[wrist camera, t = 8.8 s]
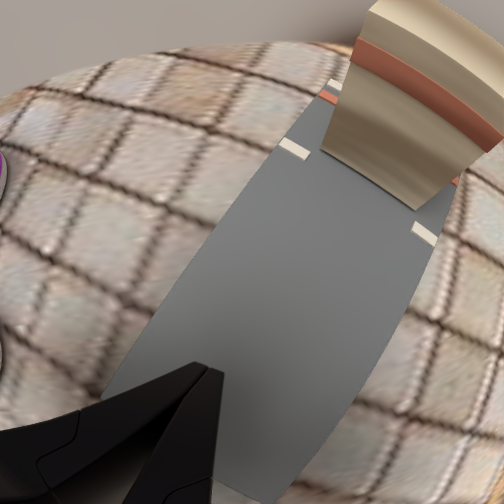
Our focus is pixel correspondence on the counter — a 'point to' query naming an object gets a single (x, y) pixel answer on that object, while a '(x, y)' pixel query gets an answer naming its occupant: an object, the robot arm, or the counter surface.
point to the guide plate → (291, 303)
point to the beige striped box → (418, 99)
